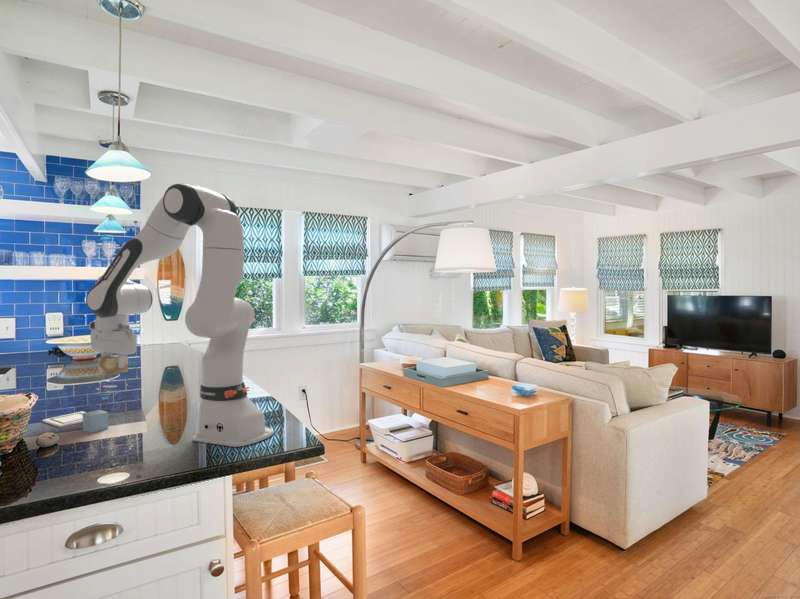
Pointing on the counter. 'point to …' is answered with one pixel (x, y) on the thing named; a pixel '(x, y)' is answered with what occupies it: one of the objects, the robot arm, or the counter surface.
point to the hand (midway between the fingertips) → (114, 366)
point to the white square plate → (65, 419)
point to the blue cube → (95, 421)
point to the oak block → (111, 365)
